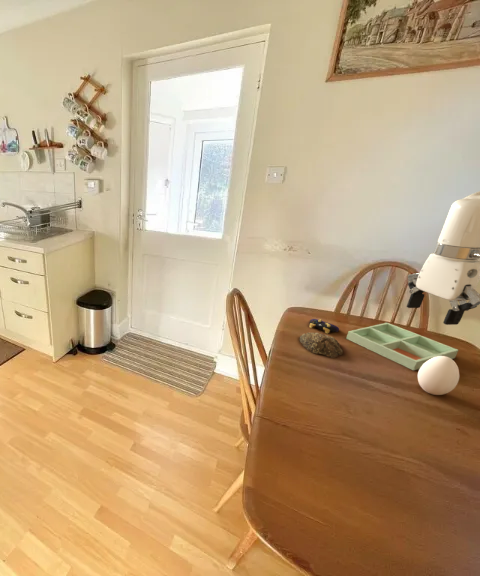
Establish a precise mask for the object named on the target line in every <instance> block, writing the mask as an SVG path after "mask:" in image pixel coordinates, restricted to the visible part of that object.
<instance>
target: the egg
mask: <svg viewBox="0 0 480 576" xmlns="http://www.w3.org/2000/svg"><path fill="white" fill-rule="evenodd" d="M417 381H418V384H419V386H420V388H421V389H422V390H423V391H424V392H426V393H427V394H430V395H433V396H442V395H446V394H448V393H450V392H453V390H454V389H455V388H456V387H457V385H458V384H459V381H460V370H459V367H458V365H457V363H456V362H455V360H453V359H451V358H449V357H446V356H437V357H433V358H431V359H429V360H428V361H426V362H425V363H424V364H423V365H422V366H421V368H420V369H418V372H417Z"/></svg>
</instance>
